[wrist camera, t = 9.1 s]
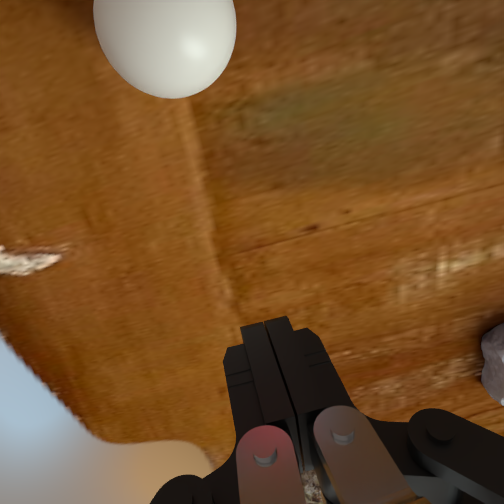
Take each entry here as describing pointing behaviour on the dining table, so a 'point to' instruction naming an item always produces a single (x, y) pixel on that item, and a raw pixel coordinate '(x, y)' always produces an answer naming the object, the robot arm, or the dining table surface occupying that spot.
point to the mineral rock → (311, 487)
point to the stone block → (494, 363)
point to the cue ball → (166, 42)
